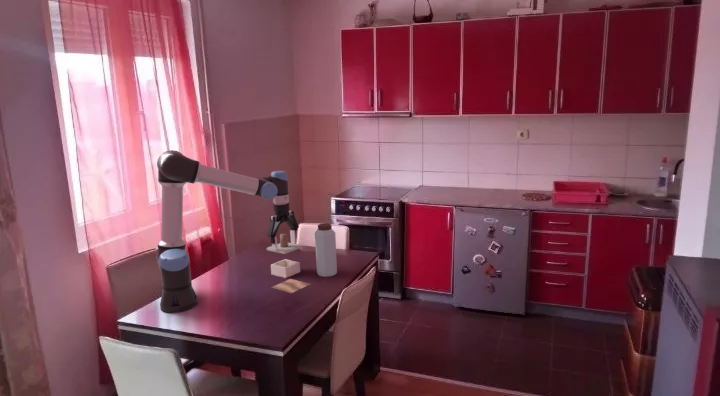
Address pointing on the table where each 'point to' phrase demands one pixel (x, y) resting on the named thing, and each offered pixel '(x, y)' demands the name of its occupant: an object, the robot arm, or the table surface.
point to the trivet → (290, 285)
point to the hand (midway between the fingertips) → (284, 246)
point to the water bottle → (325, 250)
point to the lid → (285, 245)
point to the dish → (285, 268)
